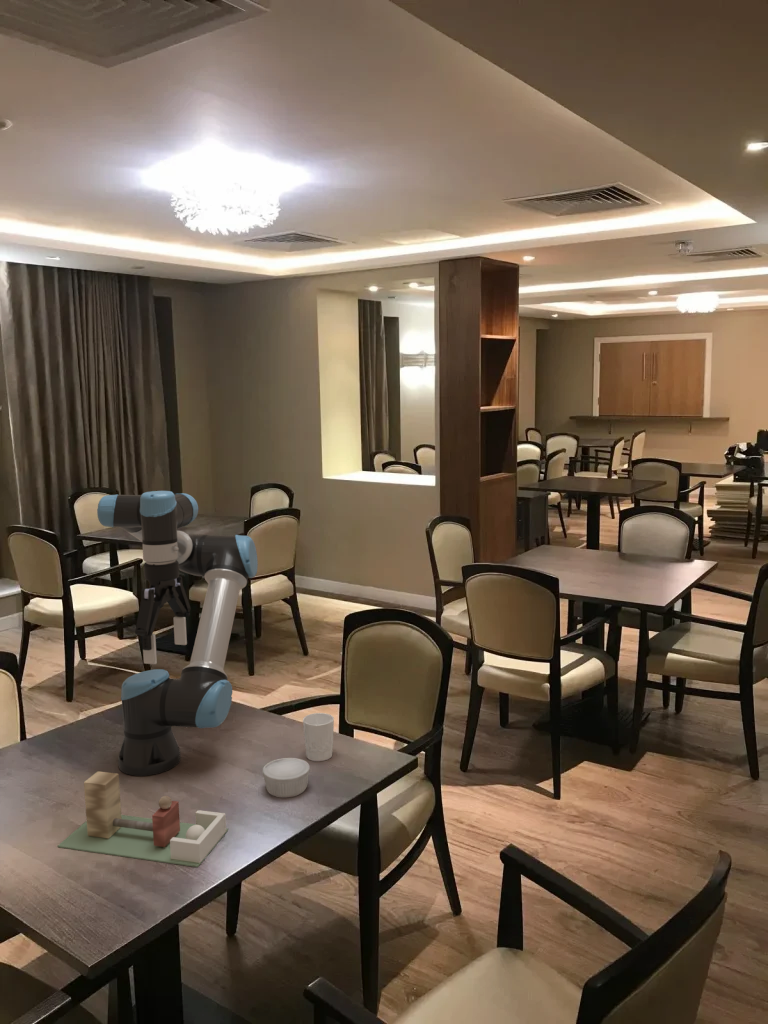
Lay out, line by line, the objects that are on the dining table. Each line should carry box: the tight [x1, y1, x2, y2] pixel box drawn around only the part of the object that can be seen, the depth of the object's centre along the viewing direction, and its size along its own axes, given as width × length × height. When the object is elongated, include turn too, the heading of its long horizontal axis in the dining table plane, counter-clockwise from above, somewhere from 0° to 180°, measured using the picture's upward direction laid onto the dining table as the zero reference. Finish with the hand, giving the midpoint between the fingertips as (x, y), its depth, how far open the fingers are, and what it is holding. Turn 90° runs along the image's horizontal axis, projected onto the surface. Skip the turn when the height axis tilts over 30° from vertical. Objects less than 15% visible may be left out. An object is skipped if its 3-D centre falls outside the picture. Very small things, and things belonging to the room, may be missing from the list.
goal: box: [170, 809, 227, 864], centre depth 164 cm, size 6×12×4 cm, turn 166°
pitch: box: [57, 814, 229, 868], centre depth 168 cm, size 32×14×1 cm, turn 76°
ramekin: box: [262, 757, 311, 799], centre depth 188 cm, size 11×11×5 cm
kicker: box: [83, 771, 180, 847], centre depth 167 cm, size 18×6×12 cm, turn 76°
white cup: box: [302, 712, 335, 762], centre depth 204 cm, size 8×8×10 cm
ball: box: [186, 825, 205, 840], centre depth 165 cm, size 4×4×4 cm
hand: (166, 653), depth 180 cm, fingers open, 13 cm apart
